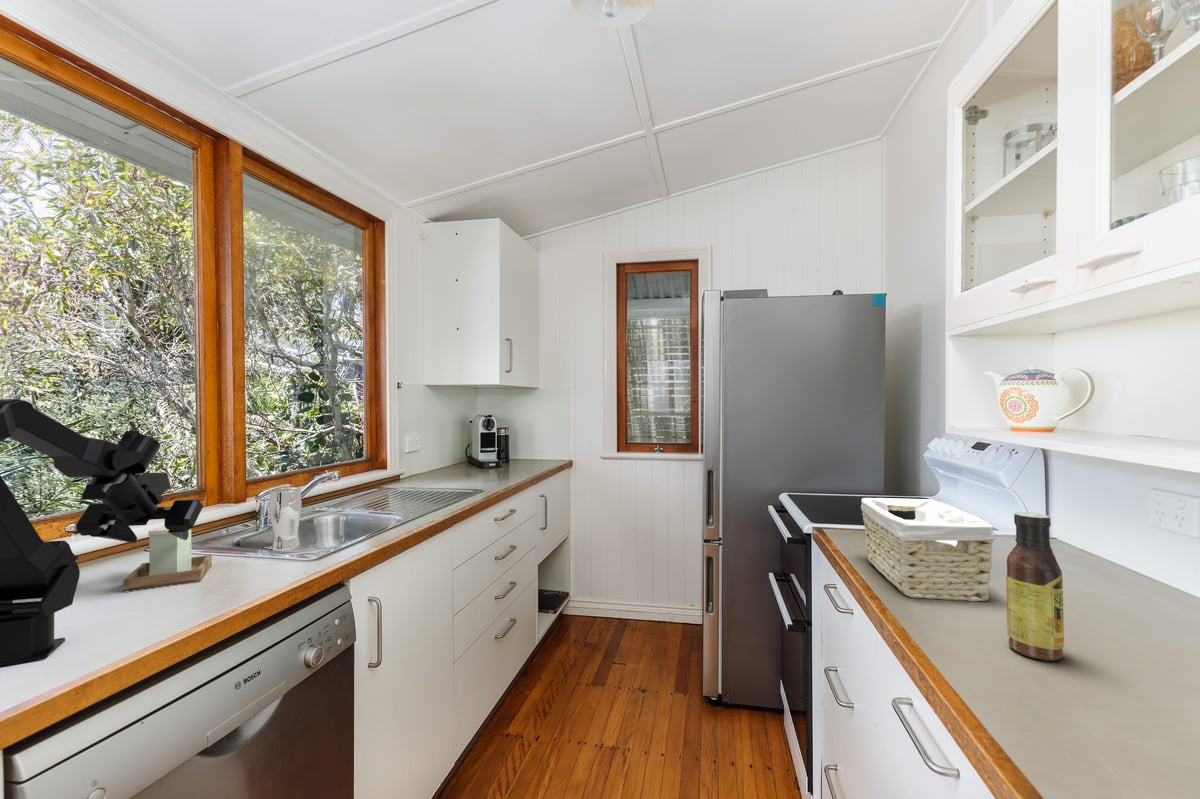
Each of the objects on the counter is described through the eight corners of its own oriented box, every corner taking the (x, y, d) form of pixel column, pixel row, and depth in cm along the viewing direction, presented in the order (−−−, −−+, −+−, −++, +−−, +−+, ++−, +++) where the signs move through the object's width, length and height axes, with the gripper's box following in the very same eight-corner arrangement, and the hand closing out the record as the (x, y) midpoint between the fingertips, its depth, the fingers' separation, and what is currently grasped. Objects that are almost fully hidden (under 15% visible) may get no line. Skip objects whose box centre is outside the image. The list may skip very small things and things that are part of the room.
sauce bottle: (1069, 667, 69) (1067, 522, 69) (1010, 655, 72) (1009, 516, 72) (1058, 647, 74) (1056, 513, 74) (1004, 637, 78) (1002, 508, 78)
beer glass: (286, 552, 125) (286, 491, 125) (262, 551, 126) (262, 491, 126) (308, 544, 132) (307, 487, 132) (285, 543, 133) (285, 486, 133)
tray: (200, 581, 105) (200, 570, 105) (123, 592, 99) (123, 580, 99) (211, 565, 115) (211, 554, 115) (142, 574, 109) (142, 563, 109)
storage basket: (1000, 607, 89) (999, 523, 90) (901, 601, 92) (900, 520, 92) (936, 564, 113) (935, 498, 113) (858, 560, 116) (858, 496, 116)
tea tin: (177, 578, 105) (177, 529, 105) (148, 580, 104) (148, 531, 104) (192, 570, 110) (192, 523, 110) (164, 571, 109) (164, 525, 109)
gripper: (198, 459, 101) (226, 504, 112) (88, 461, 97) (128, 508, 108) (172, 505, 93) (206, 549, 104) (52, 510, 89) (99, 556, 100)
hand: (161, 539), depth 104 cm, fingers open, 9 cm apart
